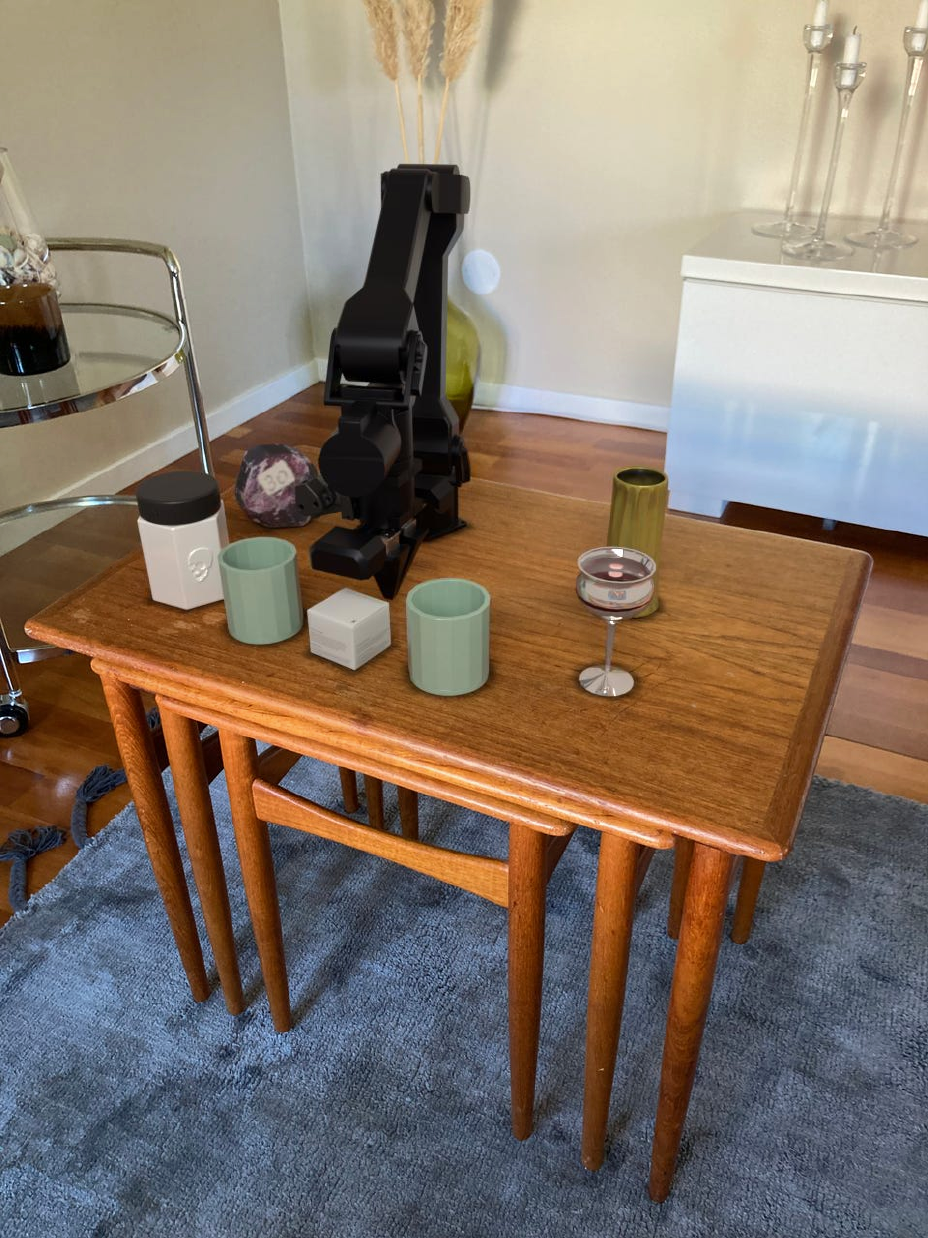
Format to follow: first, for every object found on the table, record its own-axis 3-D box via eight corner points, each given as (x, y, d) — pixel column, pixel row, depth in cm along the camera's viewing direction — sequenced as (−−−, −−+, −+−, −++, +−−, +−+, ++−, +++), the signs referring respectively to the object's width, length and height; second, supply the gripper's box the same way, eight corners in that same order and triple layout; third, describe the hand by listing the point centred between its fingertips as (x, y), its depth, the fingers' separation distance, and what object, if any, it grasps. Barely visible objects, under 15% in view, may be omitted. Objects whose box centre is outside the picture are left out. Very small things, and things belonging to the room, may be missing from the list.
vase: (664, 596, 101) (680, 469, 94) (648, 624, 96) (663, 492, 89) (608, 585, 103) (619, 459, 96) (590, 611, 98) (600, 481, 91)
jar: (166, 618, 97) (145, 510, 91) (141, 585, 103) (120, 481, 97) (249, 594, 102) (234, 489, 95) (220, 563, 107) (205, 463, 101)
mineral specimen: (215, 523, 112) (221, 436, 111) (261, 522, 122) (267, 442, 121) (289, 533, 109) (296, 444, 108) (330, 531, 119) (337, 450, 118)
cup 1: (279, 598, 101) (271, 530, 97) (317, 627, 96) (310, 555, 92) (215, 622, 97) (203, 551, 93) (251, 653, 92) (241, 579, 88)
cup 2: (454, 642, 93) (453, 569, 89) (505, 675, 89) (507, 600, 84) (393, 670, 89) (389, 595, 85) (443, 706, 84) (442, 628, 80)
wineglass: (656, 694, 86) (671, 576, 80) (586, 707, 84) (595, 588, 78) (624, 655, 91) (636, 541, 85) (558, 666, 90) (564, 552, 84)
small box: (393, 645, 93) (390, 601, 90) (354, 672, 89) (351, 627, 86) (348, 627, 96) (344, 584, 93) (308, 653, 92) (304, 609, 89)
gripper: (358, 410, 100) (366, 544, 108) (251, 475, 85) (270, 624, 93) (455, 425, 95) (456, 564, 104) (360, 496, 81) (370, 650, 89)
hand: (389, 597), depth 98 cm, fingers closed
